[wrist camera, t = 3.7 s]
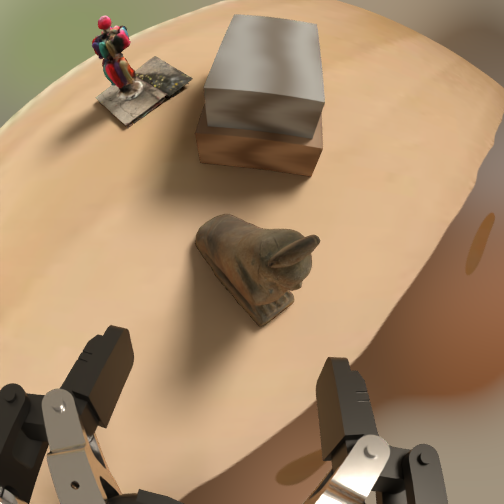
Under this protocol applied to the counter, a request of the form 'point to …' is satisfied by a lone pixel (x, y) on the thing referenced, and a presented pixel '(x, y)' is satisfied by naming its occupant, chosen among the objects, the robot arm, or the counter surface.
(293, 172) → the grey and brown block
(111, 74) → the statue
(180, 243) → the counter surface
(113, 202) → the counter surface
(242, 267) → the brown carved statuette
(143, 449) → the counter surface
